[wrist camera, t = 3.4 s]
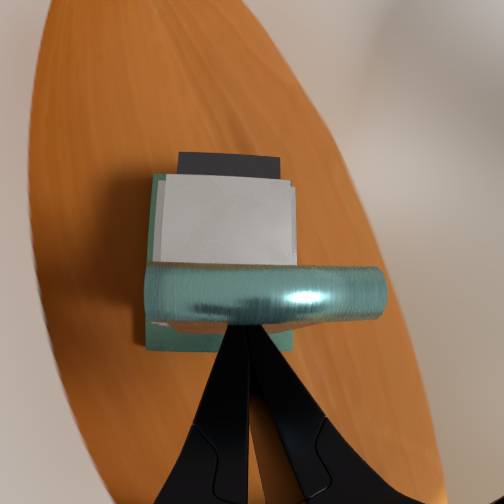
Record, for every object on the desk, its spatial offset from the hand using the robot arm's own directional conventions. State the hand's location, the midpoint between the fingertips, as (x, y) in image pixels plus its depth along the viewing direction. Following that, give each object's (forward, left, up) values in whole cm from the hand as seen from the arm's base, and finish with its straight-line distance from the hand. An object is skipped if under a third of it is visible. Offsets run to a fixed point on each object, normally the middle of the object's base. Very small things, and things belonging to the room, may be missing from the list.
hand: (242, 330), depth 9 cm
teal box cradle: (+3, +1, -11) cm, 12 cm away
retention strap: (0, 0, -5) cm, 5 cm away
